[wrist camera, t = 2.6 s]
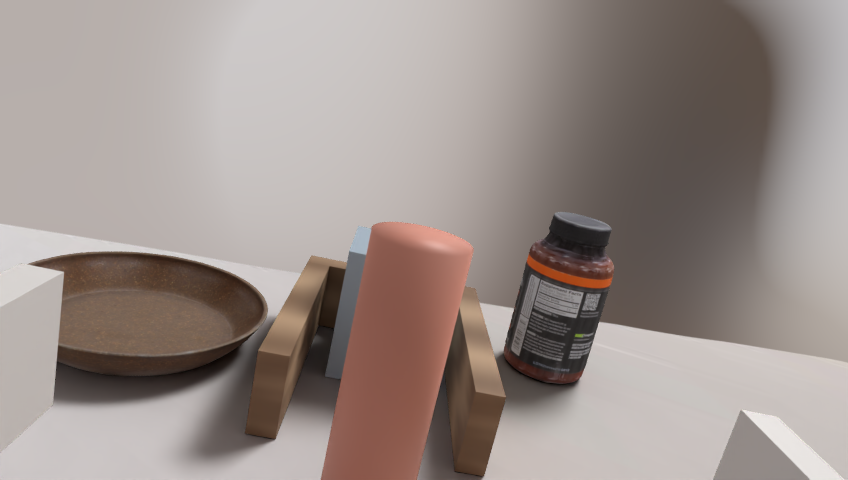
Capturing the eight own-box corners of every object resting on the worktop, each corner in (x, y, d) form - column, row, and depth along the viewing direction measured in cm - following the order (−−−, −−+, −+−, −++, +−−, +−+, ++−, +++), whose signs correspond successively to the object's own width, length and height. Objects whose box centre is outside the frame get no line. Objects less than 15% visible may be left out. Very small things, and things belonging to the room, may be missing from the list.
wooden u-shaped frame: (301, 313, 45) (311, 255, 44) (461, 344, 46) (475, 288, 45) (244, 433, 30) (258, 350, 29) (483, 476, 31) (506, 397, 30)
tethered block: (337, 335, 43) (372, 151, 39) (421, 351, 43) (464, 171, 40) (268, 568, 23) (330, 233, 19) (428, 594, 23) (514, 271, 20)
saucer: (295, 321, 44) (301, 286, 43) (188, 430, 30) (195, 380, 29) (104, 270, 45) (107, 235, 45) (-85, 351, 31) (-85, 302, 30)
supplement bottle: (521, 340, 49) (559, 204, 46) (591, 372, 46) (637, 229, 43) (487, 360, 44) (527, 209, 41) (564, 397, 41) (613, 237, 38)
